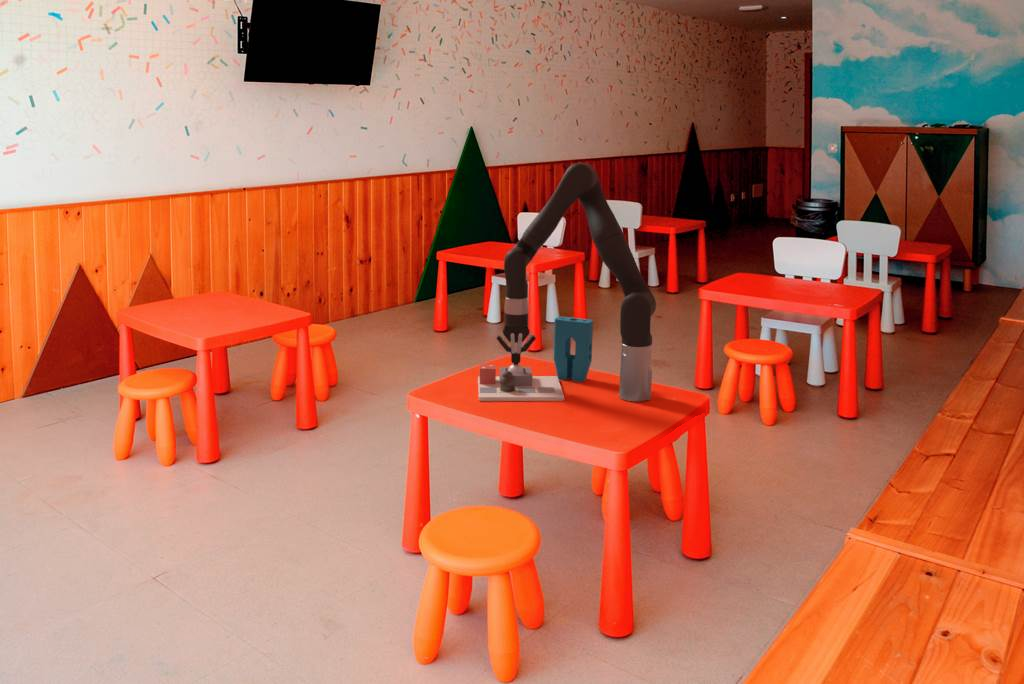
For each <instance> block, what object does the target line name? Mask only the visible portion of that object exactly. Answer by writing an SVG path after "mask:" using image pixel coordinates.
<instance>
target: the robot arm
mask: <svg viewBox="0 0 1024 684" xmlns="http://www.w3.org/2000/svg"><path fill="white" fill-rule="evenodd" d="M598 175H599V174H598V173H597V171H596V169H595V168H594V167H593V166H592V165H590V164H589V163H585V162H584V163H583V162H576V163H573V164H572V165H569V167H567V169H566V171H565V172H564V174H563V176H562V177H561V180H560V181H559V183H558V185H557V187H556V189H555V191H554V192H553V194H552V195H551V197H550V198H549V199H548V201H547V202H546V204H545V205H544V206H543V207H542V209H541V210H540V211H539V212H538V213H537V215H536V216H535V218H534V219H533V220H532V221H531V223H530V224H529V225H528V226H527V228H526V229H525V230H524V232H523V233H522V236H521V238H520V239H519V240H518V241H517V243H516V244H515V245H514V246H513V247H512V248H511V249H510V250H508V251H507V253H506V254H505V256H504V261H503V270H504V277H505V278H504V279H505V300H504V310H503V311H504V314H503V315H504V316H503V317H504V321H503V322H504V323H503V324H504V327H503V329H502V332H500V333H499V334H497V335H496V340H497V341H498V343H499V344H500V345H501V346H502V348H504V350H505V352H507V353H510V358H511V359H510V361H511V364H512V365H513V364H514V365H518V364H520V363H521V354H522V353H523V352H524V353H525V352H527V351H528V349H529V348H530V347H531V345H533V343H534V342H535V340H536V339H537V338H536V335H535V334H533V333H531V332H530V329H529V311H530V308H529V283H528V280H527V266H528V265H529V264H530V262H531V261H532V260H533V259H534V257H535V256H536V254H537V252H538V251H539V250H540V248H542V247H543V245H544V244H546V242H547V241H548V239H549V238H550V237H551V236H552V234H553V233H554V231H555V230H556V229H557V227H558V225H559V224H560V222H561V220H562V218H563V216H565V214H566V212H567V211H568V210H569V209H570V207H571V206H572V205H573V204H574V203H575V201H577V200H579V203H580V204H581V206H582V208H583V210H584V212H585V216H586V219H587V224H588V228H589V233H590V236H591V239H592V242H593V244H594V248H596V251H597V253H598V255H599V257H600V259H601V260H602V262H603V263H604V265H605V267H607V269H609V271H610V272H611V273H612V274H613V276H614V277H615V278H616V280H617V281H618V283H619V285H620V287H621V290H622V293H623V295H624V299H623V300H622V302H621V304H620V313H619V314H620V315H619V316H620V317H619V320H620V321H619V323H620V324H619V325H620V328H619V329H620V331H619V332H620V337H621V344H620V345H621V347H620V349H621V350H620V366H619V367H620V370H619V390H618V392H619V394H618V398H620V399H622V400H625V401H628V402H645V401H651V398H652V381H653V380H652V379H653V369H652V367H651V366H652V353H653V351H652V350H653V349H652V348H653V335H652V333H651V321H652V319H651V318H652V316H653V315H654V314H655V312H656V309H657V302H656V299H655V298H656V297H655V296H654V293H653V292H652V290H651V289H650V288H649V286H648V284H647V282H646V280H645V279H644V277H643V276H642V273H641V271H640V269H639V267H638V265H637V262H636V260H635V259H636V258H635V257H634V255H633V253H632V251H631V247H630V245H629V243H628V240H627V238H626V236H625V234H624V232H623V230H622V228H621V226H620V224H619V222H618V220H617V218H616V216H615V214H614V212H613V210H612V209H611V206H610V205H609V204H608V200H607V198H606V196H605V193H604V191H603V188H602V185H601V182H600V179H599V176H598ZM505 339H507V341H508V342H509V343H510V346H509V345H508V343H507V342H506V341H505ZM526 339H527V340H526ZM525 340H526V342H525V343H524V341H525ZM522 343H524V344H523V345H522Z"/></svg>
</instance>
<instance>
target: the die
mask: <svg viewBox="0 0 1024 684" xmlns="http://www.w3.org/2000/svg"><path fill="white" fill-rule="evenodd" d="M496 369H497V368H496V365H495V364H479V376H480V384H496V373H497V372H496V371H497V370H496Z"/></svg>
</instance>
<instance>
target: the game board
mask: <svg viewBox="0 0 1024 684" xmlns="http://www.w3.org/2000/svg"><path fill="white" fill-rule="evenodd" d="M477 387H478V389H477V390H478V391H477V392H478V401H479V402H532V401H533V402H546V401H547V402H549V401H550V402H560V401H561V402H562V401H565V395H564V392H563V390H562V386H561V384H560V379H558V376H557V375H554V376H553V375H543V376H542V375H540V376H539V375H538V376H537V375H532V386H515V390H514V391H512V392H503V391H501V390H500V378H499V375H497V376H496V384H480V375H479V376H477Z"/></svg>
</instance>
